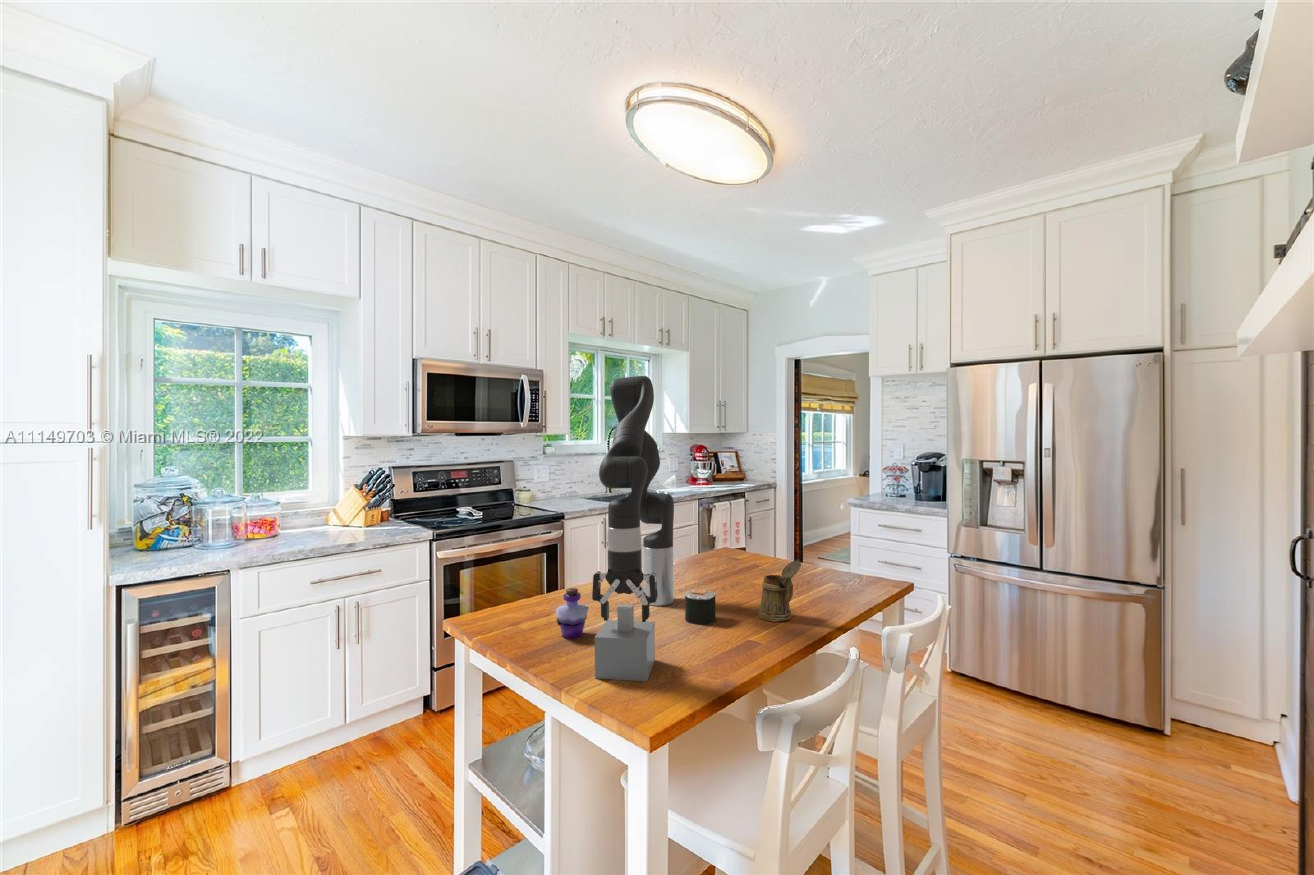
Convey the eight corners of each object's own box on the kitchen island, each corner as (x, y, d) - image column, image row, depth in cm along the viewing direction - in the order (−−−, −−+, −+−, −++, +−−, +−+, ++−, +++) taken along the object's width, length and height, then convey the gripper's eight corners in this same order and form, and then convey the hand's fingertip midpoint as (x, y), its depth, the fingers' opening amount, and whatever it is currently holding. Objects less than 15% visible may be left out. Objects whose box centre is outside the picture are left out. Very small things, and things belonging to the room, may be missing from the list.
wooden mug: (786, 629, 148) (785, 561, 148) (752, 615, 160) (751, 552, 160) (810, 623, 153) (809, 557, 153) (775, 610, 164) (774, 548, 164)
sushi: (708, 626, 151) (708, 597, 151) (680, 621, 155) (680, 593, 155) (720, 617, 158) (719, 589, 158) (692, 613, 162) (692, 585, 162)
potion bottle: (554, 631, 149) (553, 585, 148) (587, 628, 151) (586, 583, 151) (556, 642, 140) (556, 594, 140) (591, 639, 142) (590, 592, 142)
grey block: (607, 657, 131) (606, 598, 131) (655, 659, 129) (654, 600, 129) (595, 678, 120) (594, 613, 120) (646, 681, 118) (646, 615, 118)
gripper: (658, 544, 126) (659, 616, 127) (597, 543, 129) (598, 613, 129) (653, 551, 119) (654, 627, 119) (588, 549, 121) (589, 624, 121)
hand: (625, 620), depth 124 cm, fingers open, 8 cm apart
